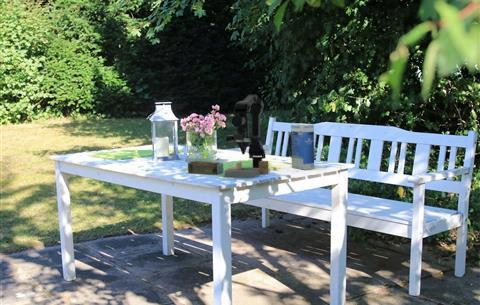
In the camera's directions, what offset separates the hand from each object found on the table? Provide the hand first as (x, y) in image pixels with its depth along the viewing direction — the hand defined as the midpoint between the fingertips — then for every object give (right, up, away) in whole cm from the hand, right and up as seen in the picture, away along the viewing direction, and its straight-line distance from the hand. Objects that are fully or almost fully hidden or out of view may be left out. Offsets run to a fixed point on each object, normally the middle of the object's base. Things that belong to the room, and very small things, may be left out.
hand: (243, 154), depth 308 cm
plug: (+11, -11, +7) cm, 17 cm away
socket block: (0, -12, +2) cm, 12 cm away
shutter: (-5, -8, +3) cm, 10 cm away
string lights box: (+35, -8, +24) cm, 43 cm away
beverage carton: (-21, -11, +14) cm, 27 cm away
